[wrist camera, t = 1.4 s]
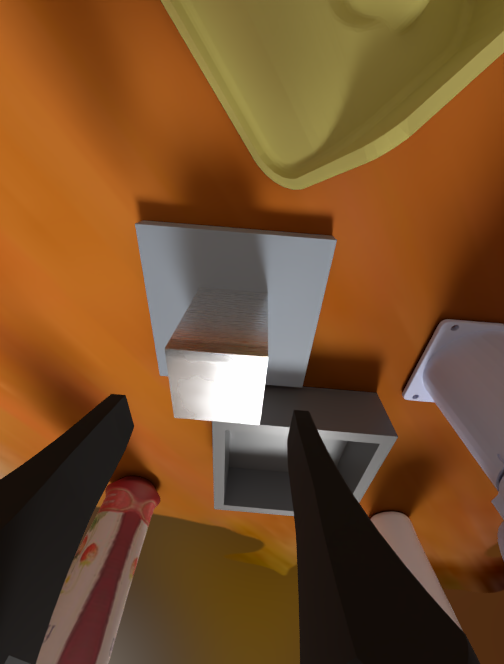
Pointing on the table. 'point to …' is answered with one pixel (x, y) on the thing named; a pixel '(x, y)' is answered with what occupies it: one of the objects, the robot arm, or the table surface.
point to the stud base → (239, 283)
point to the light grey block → (220, 357)
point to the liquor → (100, 577)
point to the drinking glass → (411, 554)
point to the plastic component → (335, 72)
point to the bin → (271, 446)
